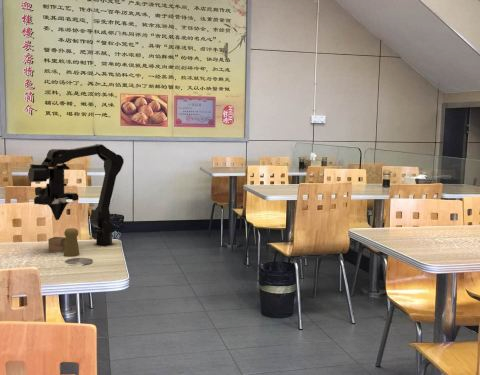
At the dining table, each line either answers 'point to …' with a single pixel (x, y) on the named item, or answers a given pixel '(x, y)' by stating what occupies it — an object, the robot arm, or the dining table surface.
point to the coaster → (52, 252)
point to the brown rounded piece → (71, 243)
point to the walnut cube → (56, 244)
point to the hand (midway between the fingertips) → (57, 219)
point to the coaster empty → (79, 261)
